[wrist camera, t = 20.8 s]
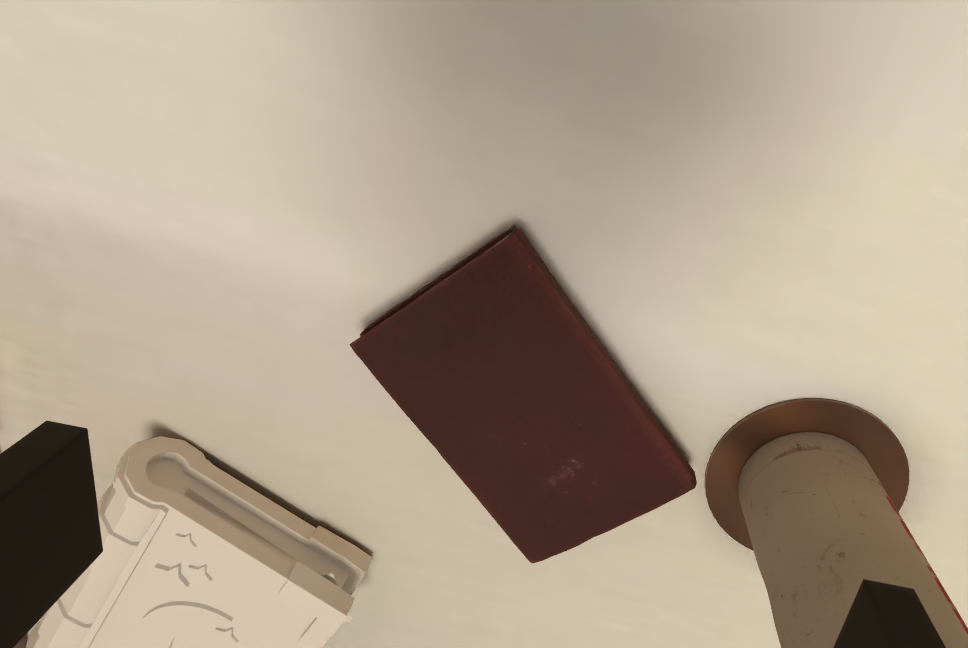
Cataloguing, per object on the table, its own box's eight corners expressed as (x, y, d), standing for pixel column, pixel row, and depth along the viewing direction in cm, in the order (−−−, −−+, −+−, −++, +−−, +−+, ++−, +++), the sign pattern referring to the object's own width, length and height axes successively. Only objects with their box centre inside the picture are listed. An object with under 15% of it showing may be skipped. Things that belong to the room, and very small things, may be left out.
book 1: (44, 634, 62) (-26, 711, 55) (161, 414, 51) (91, 477, 44) (235, 744, 64) (190, 833, 57) (388, 556, 53) (356, 638, 46)
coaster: (767, 367, 42) (768, 370, 42) (950, 446, 43) (952, 449, 42) (671, 513, 47) (671, 516, 47) (835, 583, 48) (836, 586, 47)
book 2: (520, 218, 41) (513, 234, 38) (694, 462, 46) (700, 493, 43) (361, 326, 46) (344, 347, 43) (534, 539, 50) (529, 572, 47)
